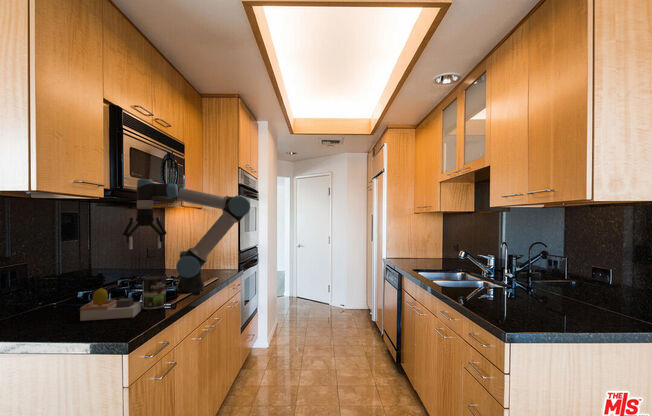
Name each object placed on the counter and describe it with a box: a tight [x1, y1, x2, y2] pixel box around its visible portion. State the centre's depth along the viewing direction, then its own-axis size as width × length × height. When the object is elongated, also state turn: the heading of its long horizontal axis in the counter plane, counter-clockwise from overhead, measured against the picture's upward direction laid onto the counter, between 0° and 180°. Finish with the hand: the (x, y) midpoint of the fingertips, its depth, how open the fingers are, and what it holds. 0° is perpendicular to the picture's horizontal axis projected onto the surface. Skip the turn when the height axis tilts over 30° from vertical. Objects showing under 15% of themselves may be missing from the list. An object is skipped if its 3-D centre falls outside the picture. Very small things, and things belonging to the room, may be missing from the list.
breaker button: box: [116, 297, 134, 308], centre depth 141 cm, size 5×5×6 cm
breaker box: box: [79, 299, 142, 322], centre depth 140 cm, size 20×10×6 cm, turn 103°
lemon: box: [92, 287, 109, 306], centre depth 140 cm, size 6×6×8 cm
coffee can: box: [141, 274, 167, 310], centre depth 154 cm, size 10×10×14 cm
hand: (145, 248), depth 168 cm, fingers open, 13 cm apart
